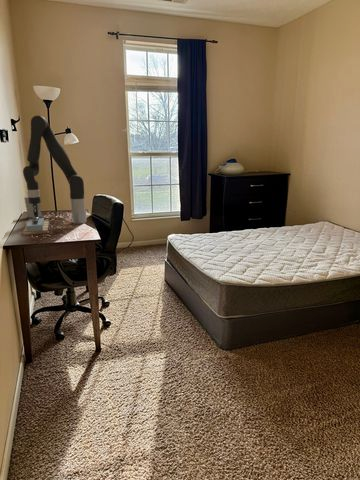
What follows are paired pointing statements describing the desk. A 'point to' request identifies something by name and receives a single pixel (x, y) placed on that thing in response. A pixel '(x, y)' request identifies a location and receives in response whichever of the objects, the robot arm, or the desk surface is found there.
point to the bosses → (35, 220)
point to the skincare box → (30, 210)
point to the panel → (32, 227)
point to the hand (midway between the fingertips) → (37, 221)
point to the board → (45, 230)
